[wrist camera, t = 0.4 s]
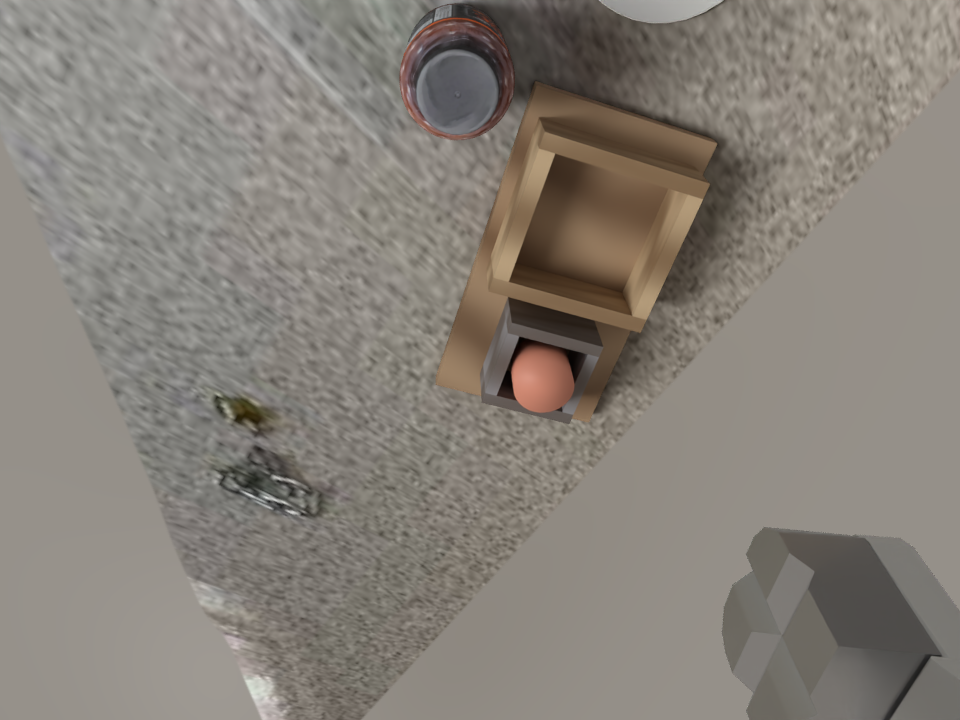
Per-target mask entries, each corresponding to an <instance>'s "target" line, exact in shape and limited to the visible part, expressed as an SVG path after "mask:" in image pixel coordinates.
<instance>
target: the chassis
mask: <svg viewBox="0 0 960 720" xmlns="http://www.w3.org/2000/svg"><path fill="white" fill-rule="evenodd" d="M716 146H717V143H716V142H715V141H714V140H713V139H712V138H709V137H705V136H702V135H699V134H696V133H693V132H690V131H687V130H684V129H681V128H678V127H675V126H672V125H669V124H666V123H663V122H659V121H656V120H653V119H650V118H647V117H644V116H641V115H638V114H635V113H632V112H629V111H626V110H623V109H620V108H617V107H613V106H610V105H607V104H604V103H601V102H598V101H595V100H592V99H589V98H586V97H583V96H580V95H577V94H574V93H571V92H567V91H564V90H561V89H558V88H555V87H552V86H549V85H546V84H543V83H540V82H537V81H535V82H534V85H533V88H532V91H531V94H530V97H529V100H528V103H527V106H526V109H525V112H524V115H523V118H522V121H521V124H520V127H519V130H518V133H517V136H516V139H515V142H514V145H513V148H512V151H511V154H510V157H509V160H508V163H507V166H506V169H505V172H504V175H503V178H502V181H501V184H500V187H499V190H498V193H497V196H496V199H495V202H494V205H493V208H492V211H491V214H490V217H489V220H488V223H487V225H486V228H485V231H484V234H483V237H482V240H481V243H480V246H479V249H478V252H477V255H476V258H475V261H474V264H473V267H472V270H471V273H470V276H469V279H468V282H467V285H466V288H465V291H464V294H463V297H462V300H461V303H460V306H459V309H458V312H457V315H456V318H455V321H454V324H453V327H452V330H451V333H450V336H449V339H448V342H447V345H446V348H445V351H444V354H443V357H442V360H441V363H440V366H439V369H438V372H437V375H436V385H439V386H443V387H447V388H451V389H455V390H459V391H463V392H467V393H471V394H475V395H480V396H481V398H482V403H486V404H490V405H494V406H498V407H502V408H506V409H510V410H514V411H518V412H522V413H527V414H531V415H535V416H539V417H543V418H547V419H551V420H555V421H559V422H563V423H567V424H569V423H570V421H571V419H572V418H573V419H577V420H581V421H585V422H589V421H590V419H591V416H592V414H593V412H594V410H595V408H596V406H597V403H598V401H599V399H600V397H601V395H602V393H603V390H604V388H605V386H606V384H607V382H608V380H609V377H610V375H611V373H612V371H613V369H614V367H615V364H616V362H617V360H618V358H619V356H620V354H621V351H622V349H623V347H624V345H625V343H626V341H627V338H628V336H629V334H630V332H631V330H632V331H635V332H639V333H641V331H642V329H643V326H644V324H645V322H646V320H647V318H648V316H649V314H650V312H651V309H652V307H653V305H654V303H655V301H656V299H657V297H658V294H659V292H660V290H661V288H662V286H663V284H664V282H665V280H666V277H667V275H668V273H669V271H670V269H671V267H672V265H673V263H674V260H675V258H676V256H677V254H678V252H679V250H680V248H681V245H682V243H683V241H684V239H685V237H686V235H687V233H688V231H689V228H690V226H691V224H692V222H693V220H694V218H695V216H696V213H697V211H698V209H699V207H700V205H701V203H702V201H703V199H704V196H705V194H706V192H707V190H708V188H709V186H710V183H709V182H708V181H707V180H706V179H705V177H704V176H703V174H704V172H705V170H706V167H707V165H708V163H709V161H710V159H711V157H712V154H713V152H714V150H715V148H716ZM526 339H532V340H535V341H539V342H543V343H547V344H551V345H554V346H558V347H562V348H565V350H566V352H567V356H568V360H569V364H570V367H571V371H572V375H573V379H574V392H573V394H572V396H571V398H570V399H569V401H568V402H567V403H566V404H565V405H564V406H562V407H561V408H559V409H557V410H554V411H551V412H545V413H539V412H533V411H530V410H528V409H526V408H524V407H523V406H522V405H521V404H520V403H519V402H518V401H517V399H516V397H515V395H514V390H513V382H512V375H511V367H510V360H511V357H512V354H513V352H514V349H515V348H516V347H517V346H518V345H519V344H520V343H521V342H523V341H524V340H526Z"/></svg>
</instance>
